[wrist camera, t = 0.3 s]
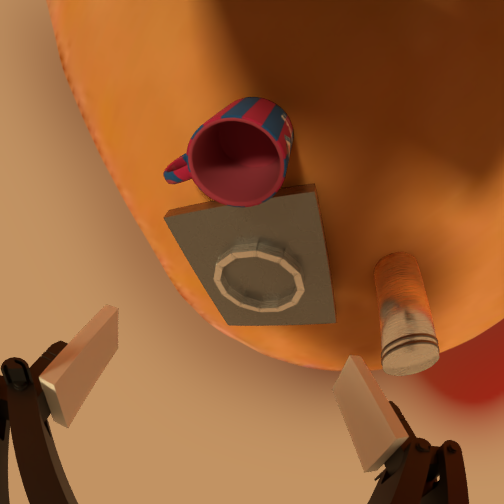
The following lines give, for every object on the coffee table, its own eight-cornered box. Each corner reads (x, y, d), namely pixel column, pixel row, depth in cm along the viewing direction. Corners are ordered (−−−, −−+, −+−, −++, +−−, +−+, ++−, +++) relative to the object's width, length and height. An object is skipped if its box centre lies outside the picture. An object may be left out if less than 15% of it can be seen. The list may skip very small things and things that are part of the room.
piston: (393, 244, 26) (414, 343, 18) (427, 263, 27) (451, 355, 18) (363, 276, 30) (369, 370, 22) (397, 292, 31) (408, 379, 22)
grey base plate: (169, 210, 29) (158, 224, 27) (314, 183, 24) (314, 198, 22) (230, 317, 41) (226, 331, 39) (336, 314, 36) (335, 330, 34)
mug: (298, 164, 23) (292, 204, 18) (195, 175, 26) (165, 214, 21) (286, 91, 19) (276, 107, 14) (175, 112, 22) (135, 138, 17)
